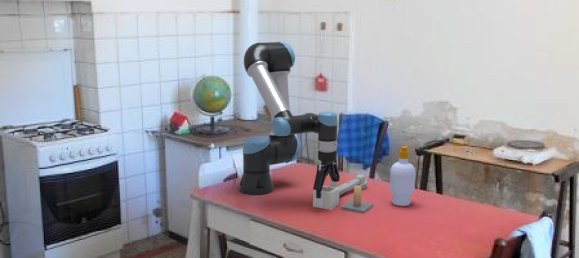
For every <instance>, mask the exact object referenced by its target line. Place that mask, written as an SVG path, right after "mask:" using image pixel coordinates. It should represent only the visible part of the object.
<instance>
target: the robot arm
mask: <svg viewBox="0 0 579 258" xmlns="http://www.w3.org/2000/svg"><path fill="white" fill-rule="evenodd" d="M295 63H296V55H295V51H294V49H293V47H292V46H291V45H290V44H289V43H287V42H285V41H284V42H283V41H282V42H281V41H275V42H274V41H273V42H272V41H270V42H268V41H267V42H256V43H252V44H251V45H250V46H248V48H247V49H246V51H245V53H244V56H243V66H244V70H245V72H246V74H247V76H248V77H250V78H252V81H253V82H254V84H255V87H256V89H257V91H258V92H259V94H260V96H261V98H262V100H263V102H264V104H265V106H266V107H267V109H268V111H269V114H270V121H271V123H270V124H271V131H270V132H269V134H268V136H266V135H260V136H259V135H256V136H251V137H249V138H247V139H246V138H245V140H244V141H243V147H242V159H243V160H242V162H243V163H242V164H243V165H242V168H243V170H242V171H243V172H242V176H241V178H240V182H239V191H240V192H241V193H242V194H247V195H266V194H271V193H272V192H274V186H275V185H274V182H273V179H272V176H271V175H272V174H271V173H270V170H271V169H270V167H271V166H272V165H279V164H288V163H291V162H295V161H296V160H297V159H298V158H299V157H300V154H301V150H302V143H301V140H300V139H299V137H298V136H297V135H301V134H302V135H303V134H308V133H314V134H317V135H318V136H317V150H318V151H317V160H318V161H320V164H317V165H316V173H315V178H314V183H313V187H312V190H316V205H317V206H323V190H322V188H323V186H325V181H326V178H327V176H328V175H329V178H330V183H329V187H335V188H337V187H338V182H340V178H341V177H340V171H339V166H338V159H337V158H338V157H337V154H338V151H337V146H338V145H339V144H338V124H339V123H338V114H337V113H336V112H334V111H320V112H318V114H316V113H312V112H304V113H303V114H301V115H300V114H299V115H293V114H292V112H291V110H290V109H291V108H290V98H289V97H290V95H289V81H288V80H289V79H288V76H289V74H290V73H291V68H293V66H294V65H295Z"/></svg>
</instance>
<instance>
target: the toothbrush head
mask: <svg viewBox="0 0 579 258" xmlns="http://www.w3.org/2000/svg"><path fill="white" fill-rule="evenodd" d="M367 184H368V181H367V180H366V177H365V175H364V174H358V175H357V174H356V177H355V178H353V179H351V180H349V181H347V182H345V183H342V184H341V185H337V188H339V197H340V196H342V195H343V194H345V193H346V192H348V191H350V190H351V189H354V186H355V185H359V186H361V190H366V188H367Z"/></svg>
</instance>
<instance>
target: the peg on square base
mask: <svg viewBox="0 0 579 258" xmlns="http://www.w3.org/2000/svg"><path fill="white" fill-rule="evenodd" d="M373 207H374V203H370V202H364V201H362V189H361V186H359V185H355V186H354V187H353V199H350V200H349V201H347V202H345V203H344V204H342V205H341V206H340V210H343V211H350V212H354V213H355V212H356V213H360V214H365V213H367V212H368V211H369V210H371V209H372V208H373Z"/></svg>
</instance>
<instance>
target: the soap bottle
mask: <svg viewBox="0 0 579 258" xmlns="http://www.w3.org/2000/svg"><path fill="white" fill-rule="evenodd" d="M409 147H410V146H409V145H405V146H400V150H399V152H398V161H397V162H394V163H393V164H392V166H391V168H390V170H389V171H390V172H389V173H390V174H389V191H390V192H391V193H392V195H391V196H392V197H391V200H392V202H391V203H392V204H393V205H394V206H399V207H407V206H410V205H411V202H412V200H411V199H412V194H413V193H415V187H416V185H415V184H416V168H415V167H414V165H413V164H412V163H410V162H409V150H408V148H409Z"/></svg>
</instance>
